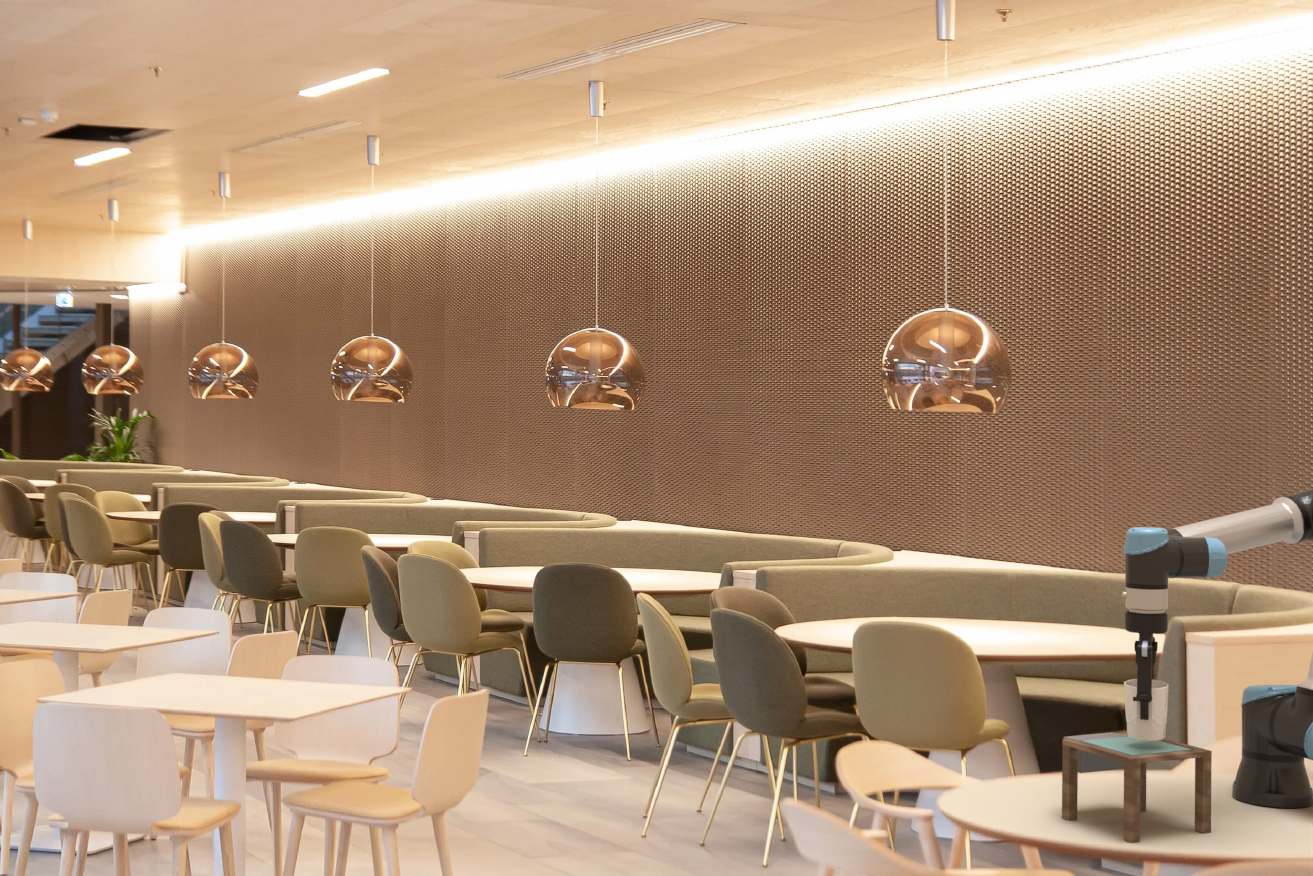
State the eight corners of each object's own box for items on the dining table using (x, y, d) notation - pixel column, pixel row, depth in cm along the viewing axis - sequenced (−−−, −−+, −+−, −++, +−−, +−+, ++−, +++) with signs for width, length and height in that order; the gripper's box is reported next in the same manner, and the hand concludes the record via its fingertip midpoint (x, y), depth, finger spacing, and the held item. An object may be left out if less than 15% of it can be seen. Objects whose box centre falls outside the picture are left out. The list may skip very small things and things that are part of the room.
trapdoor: (1116, 762, 290) (1116, 729, 290) (1191, 784, 272) (1191, 748, 272) (1059, 768, 285) (1059, 734, 285) (1132, 791, 266) (1132, 754, 266)
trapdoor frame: (1138, 808, 288) (1139, 732, 288) (1210, 832, 271) (1211, 750, 271) (1061, 818, 280) (1062, 739, 280) (1131, 843, 263) (1131, 759, 263)
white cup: (1146, 744, 269) (1146, 690, 268) (1115, 735, 276) (1114, 682, 275) (1178, 738, 272) (1177, 685, 272) (1145, 728, 279) (1145, 676, 279)
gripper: (1128, 603, 285) (1127, 720, 285) (1121, 616, 265) (1120, 741, 265) (1169, 605, 282) (1168, 723, 282) (1165, 618, 262) (1164, 744, 262)
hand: (1145, 732), depth 273 cm, fingers open, 9 cm apart
